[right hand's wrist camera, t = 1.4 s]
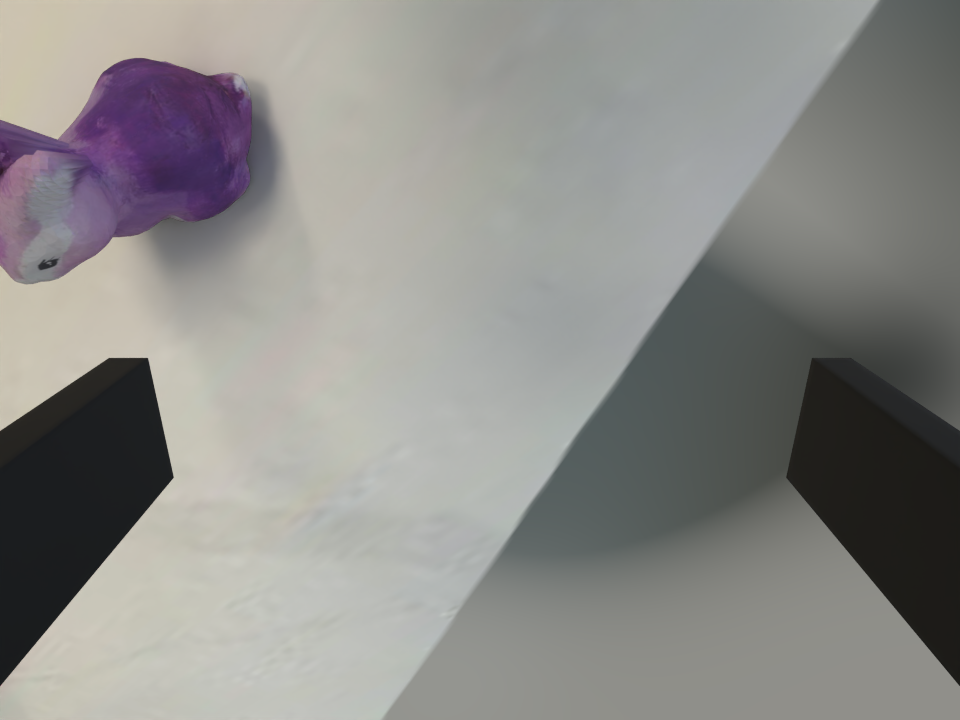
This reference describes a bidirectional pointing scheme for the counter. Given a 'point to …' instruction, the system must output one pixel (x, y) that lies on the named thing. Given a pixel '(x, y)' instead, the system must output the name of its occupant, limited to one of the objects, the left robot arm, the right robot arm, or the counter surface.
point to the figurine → (122, 166)
